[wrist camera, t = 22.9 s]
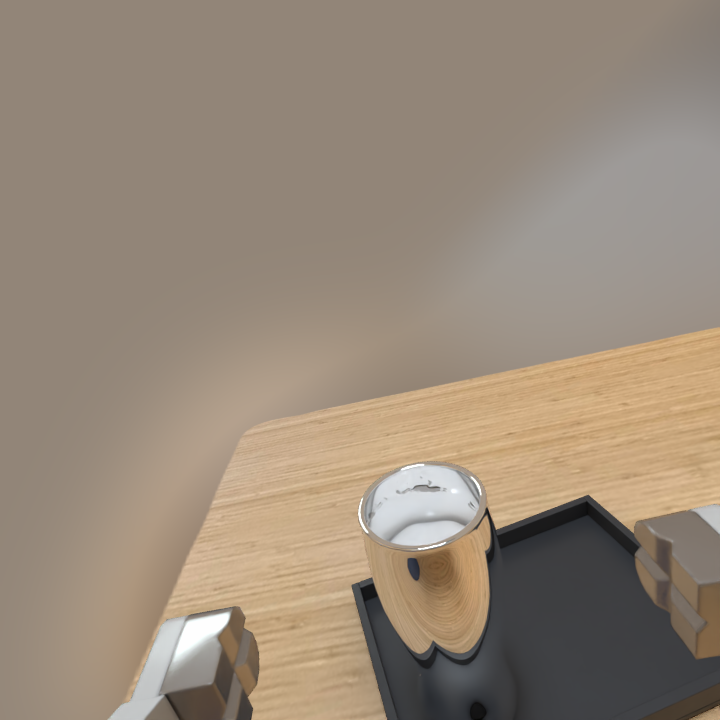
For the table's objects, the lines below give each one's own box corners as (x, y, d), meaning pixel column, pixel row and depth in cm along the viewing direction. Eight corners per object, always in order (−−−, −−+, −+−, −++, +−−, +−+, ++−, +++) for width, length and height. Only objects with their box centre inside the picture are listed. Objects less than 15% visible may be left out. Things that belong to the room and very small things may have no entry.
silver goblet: (462, 619, 33) (422, 444, 28) (550, 691, 28) (521, 490, 22) (389, 691, 30) (328, 508, 25) (472, 789, 24) (416, 581, 19)
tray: (422, 842, 23) (414, 822, 23) (356, 601, 37) (351, 584, 37) (774, 679, 26) (777, 656, 25) (589, 511, 40) (588, 494, 39)
